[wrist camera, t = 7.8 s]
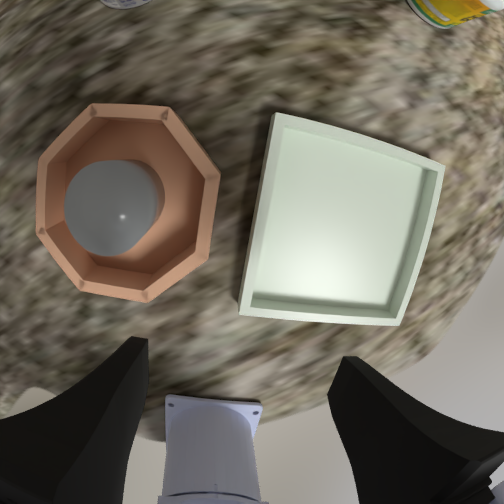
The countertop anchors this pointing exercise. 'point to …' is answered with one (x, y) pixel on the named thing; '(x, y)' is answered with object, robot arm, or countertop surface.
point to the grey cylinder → (113, 205)
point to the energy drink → (124, 3)
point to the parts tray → (337, 226)
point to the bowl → (174, 212)
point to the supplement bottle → (453, 10)
